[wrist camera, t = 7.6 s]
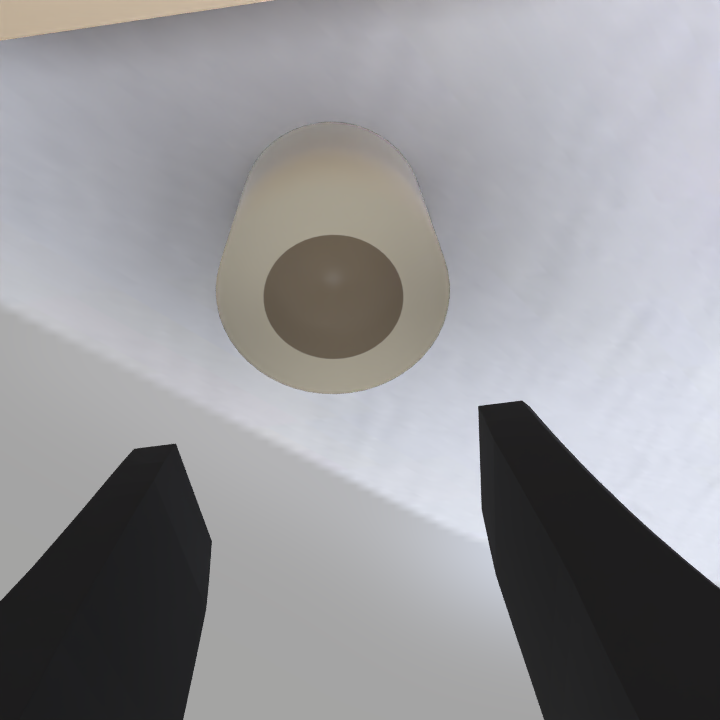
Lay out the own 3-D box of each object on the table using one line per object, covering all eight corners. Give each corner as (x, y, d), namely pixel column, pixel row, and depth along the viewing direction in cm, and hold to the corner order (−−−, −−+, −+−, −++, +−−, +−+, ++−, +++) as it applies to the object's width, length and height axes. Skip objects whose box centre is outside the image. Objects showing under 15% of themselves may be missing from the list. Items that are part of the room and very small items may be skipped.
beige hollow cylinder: (262, 305, 20) (245, 407, 16) (221, 137, 17) (187, 206, 13) (428, 282, 20) (455, 379, 15) (413, 108, 17) (442, 169, 13)
